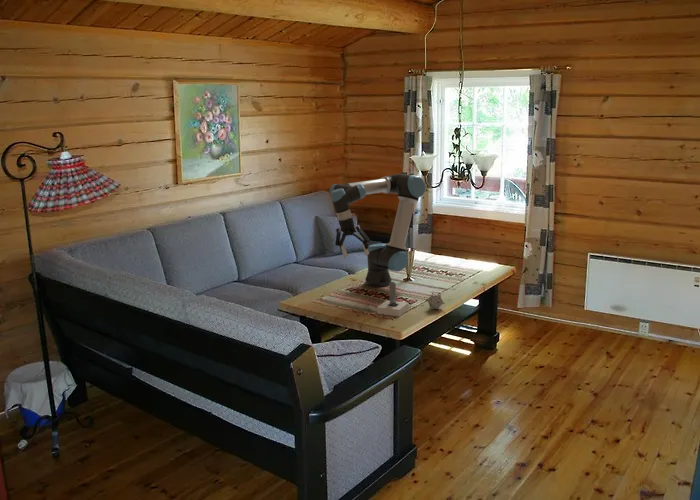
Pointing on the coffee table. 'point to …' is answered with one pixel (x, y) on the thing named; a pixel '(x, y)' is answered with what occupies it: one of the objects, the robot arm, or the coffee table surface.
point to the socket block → (393, 308)
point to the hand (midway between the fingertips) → (356, 255)
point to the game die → (435, 301)
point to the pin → (392, 294)
